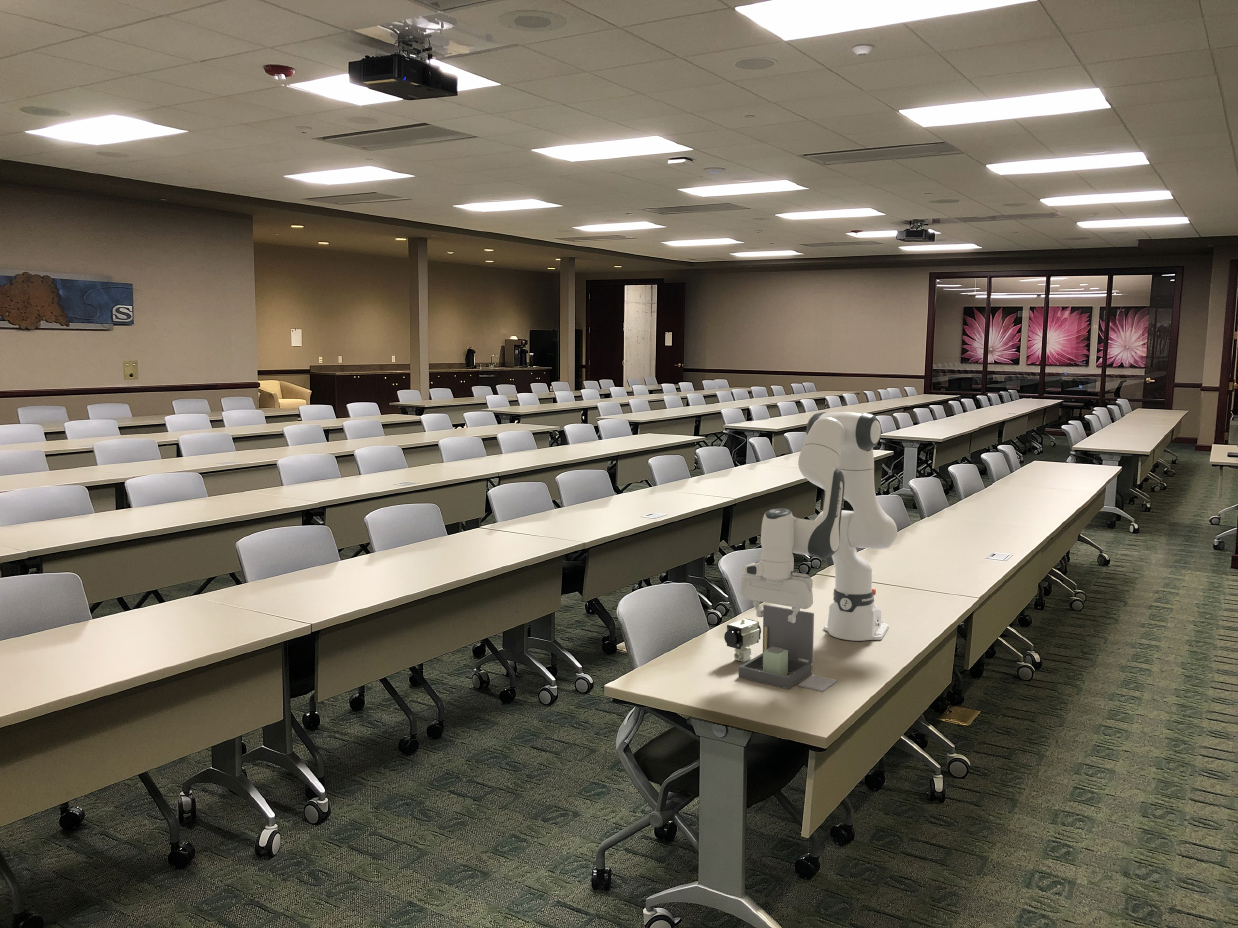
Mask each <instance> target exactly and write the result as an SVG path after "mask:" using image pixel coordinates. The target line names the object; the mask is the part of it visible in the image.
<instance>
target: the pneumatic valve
mask: <svg viewBox="0 0 1238 928" xmlns="http://www.w3.org/2000/svg"><path fill="white" fill-rule="evenodd" d="M761 633H762V627H761V626H760V622H759V621H757V620H753V619H749V618H743V619H740V620H738V621H735V622H732V623H728V624H727V625H726V632H725V633H724V635H723V639H724V642H725V643H726V647H729V648H733V649H734V653H733V657H734V658H733V659H734V660H735V661H739V662H741V663H746V662H748V661H750V660H751V659H752V657H751V655H752V648H750V646H753V645H756V644H759V642H760V640H761Z"/></svg>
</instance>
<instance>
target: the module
mask: <svg viewBox="0 0 1238 928" xmlns="http://www.w3.org/2000/svg"><path fill="white" fill-rule="evenodd" d="M762 653H763V666H762V671H766V672H771V673H775V674H780V675H784V676H789V674H788V673H789V670H788V650H784V649H783V648H778V647H771V648H769V649H767V650H765V651H764V652H763V651H762Z"/></svg>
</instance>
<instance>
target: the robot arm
mask: <svg viewBox="0 0 1238 928" xmlns="http://www.w3.org/2000/svg"><path fill="white" fill-rule="evenodd" d="M881 434H882V427H881V423H880V420H879V419H878V417H877V416H876V415H873V414H870V413H865V412H863V413H859V412H855V411H854V412H852V411H841V412H840V411H834V412H826V411H821V412H818V413H813V415H812V416H811V417H810V418H809V420H808V422H807V424H806V437H805V439H804V441H803V445H802V447H801V450H800V453H799V456H798V461H797V463H798V464H797V465H798V469H799V471H800V473H801V475H802V476H803V477H804V478H805V479H806V480H807V481H809V482H810V483H811V484H813V485H815V486H817V487H819V488H821V489H823V490H824V494H825V495H824V501H823V502H824V503H823V508H822V511H821V512H820V513H818V515H817V516H816V518H815V520H814V519H813V520H812V519H807V518H806V519H805V518H799V517H796V516H794V515H793V512H792V511H791V510H790V509H788V508H779V507H778V508H772V509H769V510H767V511H765V512H764V515H763V517H762V521H761V530H760V545H761V555H760V560H759V561H758V560H757V561H756V562H755V561H754V562H752V563H749V564H747V565H745V566H743V575H742V577H741V581H740V595H741V597H742V599H745V600H751V601H752V605H753V608H754V609H755V612H756V617H759V618H763V616H764V610H763V609H762V608H761V605H760V604H761V603H768V604H772V605H778V606H785V607H790V608H791V609H792V611H794V612H793V614H792V615H790V616H788V622H789V623H795V621H796V615H797V614H798V612H799V611H801V610H807V609H810V608H811V607H812V606H813V604H814V596H813V595H814V594H813V582H814V580H813V579H812V577H811V576H810V575H808V574H807V573H800V572H797V571H794V568H795V567H794V566H795V565H794V563H795V562H794V558H795V557H794V555H793V553H794V554H797V555H804V556H809V557H813V558H817V559H821V560H826V559H829V558H832V561H833V565H834V577H835V579H834V582H835V586H834V589H833V593H832V594H833V595H832V597H833V602H832V603H831V604H829V606H828V607H829V608H828V615H827V616H828V617H827V624H825V625H823V630H824V631H826V632H828V634H829V635H830V636H832V637H834V638H837V639H840V640H841V639H842V640H845V641H859V642H860V641H861V642H862V641H870V640H871V641H874V640H875V641H879V640H880V641H881V640H883V638H884V637H885V634H886V633H887V631H888V629H889V628H890V627H889V624H888V623H885V622H882V610H881V608H880V607H878V606H877V604H876V603H875V598H874V597H875V596H876V595H877V589H875V588H873V567H872V566H871V564H870V562H869V561H867V560H866V559H865V558H863V557H862V556H861V555H860V553H858V550H857V548H861V549H869V550H882V549H889V548H891V547H892V546H893V545H894V543H895V542H896V540H897V537H898V527H897V524H896V522H895V520H894V519H893V518H892V517H891V516H890V515H889V514H887V513H886V512H885V511H884V509H883V508H882V506H881V504H880V503H879V500H878V498H877V495H876V488H875V486H876V485H875V459H874V458H875V455H874V448H875V447H876V445H878V443H879V442H880V439H881ZM844 500H845V501H847V502H848V503H849V504H850V505H851V507H852V508H853V510H846V509H845V510H843V503H844Z"/></svg>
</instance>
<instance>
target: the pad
mask: <svg viewBox="0 0 1238 928" xmlns="http://www.w3.org/2000/svg"><path fill="white" fill-rule="evenodd" d="M837 682H838V680H837V679H834V678H828V677H825V676H821V675H820V676H819V675H816V674H811V675H809V676H808V677H806V678H805V679H803V680H802V681H800V682H799V683H797V684H798V687H801V688H805V689H808V690H813V691H819V692H822V693H823V692H825V691H826V690H827V689H829V688H830V687H832V686H834V684H836V683H837Z"/></svg>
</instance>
